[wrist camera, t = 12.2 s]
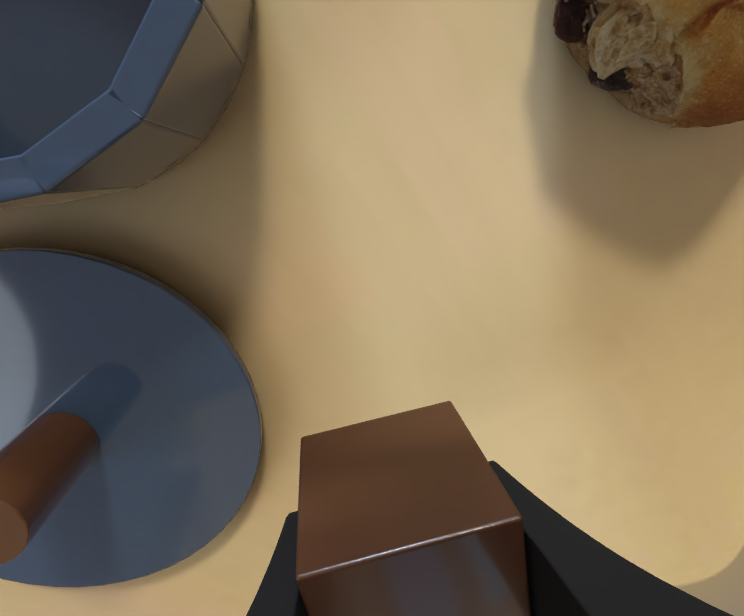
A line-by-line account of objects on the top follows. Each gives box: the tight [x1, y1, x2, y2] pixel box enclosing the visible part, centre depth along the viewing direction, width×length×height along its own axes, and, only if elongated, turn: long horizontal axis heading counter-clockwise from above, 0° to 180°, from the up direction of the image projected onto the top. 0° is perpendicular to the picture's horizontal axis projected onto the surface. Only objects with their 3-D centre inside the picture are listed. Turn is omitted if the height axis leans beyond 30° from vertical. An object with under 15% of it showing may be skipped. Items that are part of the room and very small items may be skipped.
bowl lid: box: [0, 247, 262, 587], centre depth 13 cm, size 14×14×5 cm
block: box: [295, 401, 531, 616], centre depth 11 cm, size 4×4×4 cm
